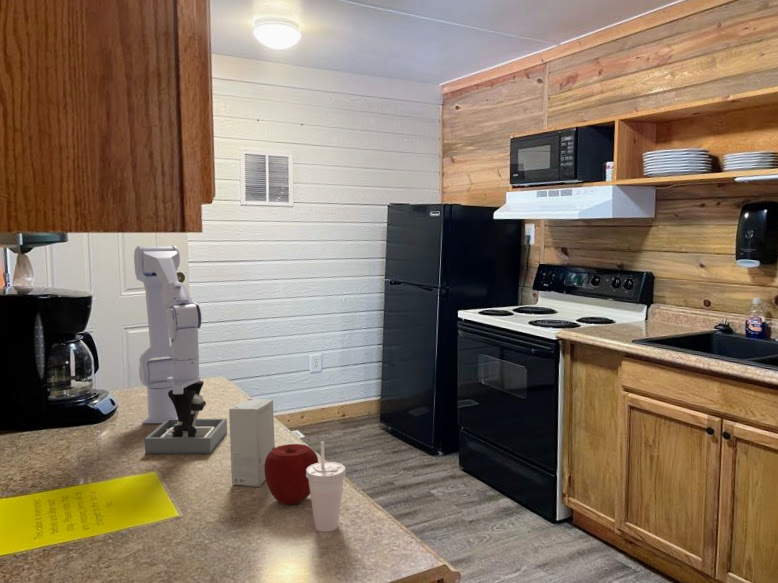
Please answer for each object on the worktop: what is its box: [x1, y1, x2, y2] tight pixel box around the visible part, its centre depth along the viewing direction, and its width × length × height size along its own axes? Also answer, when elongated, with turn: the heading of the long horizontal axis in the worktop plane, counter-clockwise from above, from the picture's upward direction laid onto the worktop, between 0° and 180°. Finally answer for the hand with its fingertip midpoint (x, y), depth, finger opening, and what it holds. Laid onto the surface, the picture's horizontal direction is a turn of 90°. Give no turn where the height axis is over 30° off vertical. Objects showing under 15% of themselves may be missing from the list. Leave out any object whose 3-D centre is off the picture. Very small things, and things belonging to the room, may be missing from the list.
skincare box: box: [228, 398, 276, 488], centre depth 119 cm, size 8×6×15 cm
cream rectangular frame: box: [161, 427, 215, 437], centre depth 140 cm, size 8×10×2 cm
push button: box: [165, 394, 207, 437], centre depth 139 cm, size 7×5×10 cm
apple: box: [264, 443, 320, 506], centre depth 110 cm, size 10×10×10 cm
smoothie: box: [306, 441, 347, 533], centre depth 100 cm, size 6×6×14 cm
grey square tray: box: [144, 418, 228, 455], centre depth 140 cm, size 14×14×4 cm
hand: (187, 417), depth 139 cm, fingers closed on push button, 5 cm apart
